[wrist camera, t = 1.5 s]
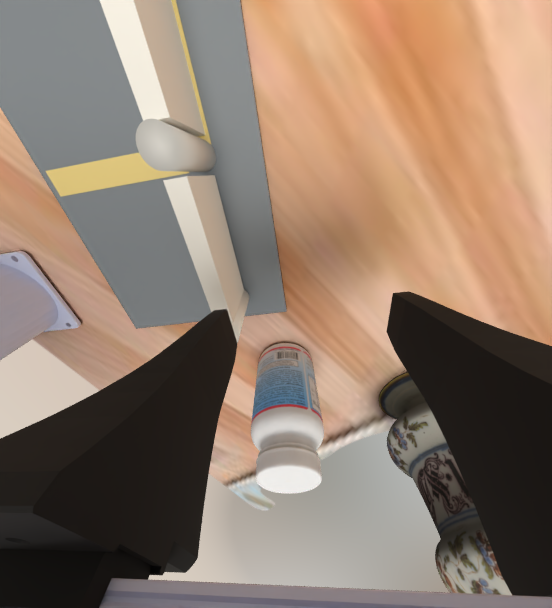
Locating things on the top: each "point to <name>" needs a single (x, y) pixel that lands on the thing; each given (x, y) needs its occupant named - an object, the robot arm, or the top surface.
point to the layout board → (126, 158)
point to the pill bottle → (287, 421)
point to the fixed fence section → (160, 85)
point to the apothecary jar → (440, 491)
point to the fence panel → (209, 244)
